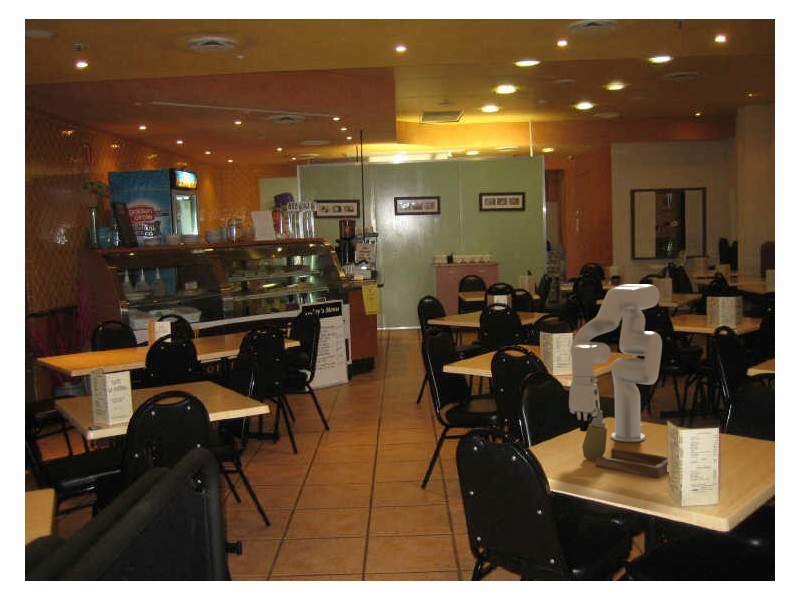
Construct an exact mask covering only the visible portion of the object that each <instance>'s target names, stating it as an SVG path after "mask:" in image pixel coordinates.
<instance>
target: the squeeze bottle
mask: <svg viewBox="0 0 800 600" xmlns="http://www.w3.org/2000/svg"><path fill="white" fill-rule="evenodd" d="M585 432H586V433H585V437H584V439H583V443H582V445H581V446H582V447H581V448H582V453H583V458H585V459H586V460H588V461H592V462H596V457H597V456H601V457H604V455H605V453H606V449H607V448H606V447H607V435H608V434H607V433H608V429H607V427H606V420H605V419H604V415H603V410H600V409H599V410H598V414H597V416H595V417H594V418H592V420H591V423H589V426H588V429H587V431H585Z"/></svg>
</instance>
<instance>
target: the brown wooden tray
mask: <svg viewBox="0 0 800 600" xmlns="http://www.w3.org/2000/svg"><path fill="white" fill-rule="evenodd" d="M610 451H611V455H610V456H611V457H607V456H602V457H601V456H597V457H596V461H595V467H596V468H600V469H606V470H610V471H615V472H622V473H627V474H632V475H637V476H643V477H647V478H653V479H658V480H659V479H660V478H661V477H663V476H664V475H666V474H668V473H667V465H668V457H669V456H668V457H667V456H664V455H657V454H652V453H651V454H650V453H645V452H640V451H633V450H628V449H620V448H616V447H612V448H611V450H610Z"/></svg>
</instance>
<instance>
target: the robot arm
mask: <svg viewBox="0 0 800 600" xmlns="http://www.w3.org/2000/svg"><path fill="white" fill-rule="evenodd" d="M660 296H661V295H660V290H659V289H658V287H657V286H655V285H653V284H630V283H627V284H620V285H618V286H617V287H612V288H610V289H609V290H608V291H607V292H606V294H605V297H604V299H603V301H602V303H601V306H600V308H599V310H598V313H597V314H596V316H595V317H594V318H593V319H591V320H590V321H588V322H587V323H585V324H584V325H583V326H581V327H580V328H579V329H578V331H577V332H576V334H575V335H574V338H573V340H572V343H571V345H570V348H569V349H570V351H569V352H570V356H571V363H572V364H571V371H572V374H571V375H572V376H571V377H572V379H571V380H572V382H571V383H570V386H569V396H568V408H569V412H570V413H571V414H574V415H575V416H576V417H577V420H578V421H579V422H578V423H579V424H578V427H579V431H580V432H583V433H585V432H587V429H588V426H589V425H590V420H591V418H592V417H594V418H595V417H597V414H598V412H599V410H600V409H601V407H600V405H601V404H600V395H599V394H600V393H599V389H598V385H597V383H598V378H597V377H595V376H596V375H595V364H597V365H598V364H604V363H607V362H608V361H609V359H610V358H611V355H612V351H611V348H610V346H609V345H608V344H607V343H605V342H597V341H591V340H592V339H594V338H596V337H598V336H600V335H604V334H606V333H609V332H612V331H614V330H616V329H617V328H618V327H619V325H620V322H621V321H622V322H621V329H620V335H619V336H620V337H619V345H618V347H619V350H620V352H621V353H623V354H625V355H632V356H640V357H641V356H643V357H644V358H635V357H634V358H633V357H619V358H618V357H617V358H616V359H615V360H613V362H612V364H611V369H610V370H611V376H612V379H613V380H612V382H613V387H614V391H613V392H614V431H615V432H612V433H611V434H610V437H611V439H612V440H613V441H614V440H615V441H618V442H622V443H623V442H624V443H636V442H642V441H644V440H645V439H646V435H645V434H643V433H642V431H641V430H643V428H644V425H643V423H641V419H642V418H641V393H640V390H639V387H638V386H637V385H636V384H640V385H654V384H655V383H656V382H657V380H658V378H659V372H660V366H661V358H662V351H663V350H662V349H663V341H662V338H661V335H660V334H659V333H658V332H656V331H648V330H646V331H645V327H646V318H645V314H644V313H643V310H647V309H650V308H654V307H655V306H657V305H658V303H659V302H660V298H661V297H660ZM621 319H622V320H621Z"/></svg>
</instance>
